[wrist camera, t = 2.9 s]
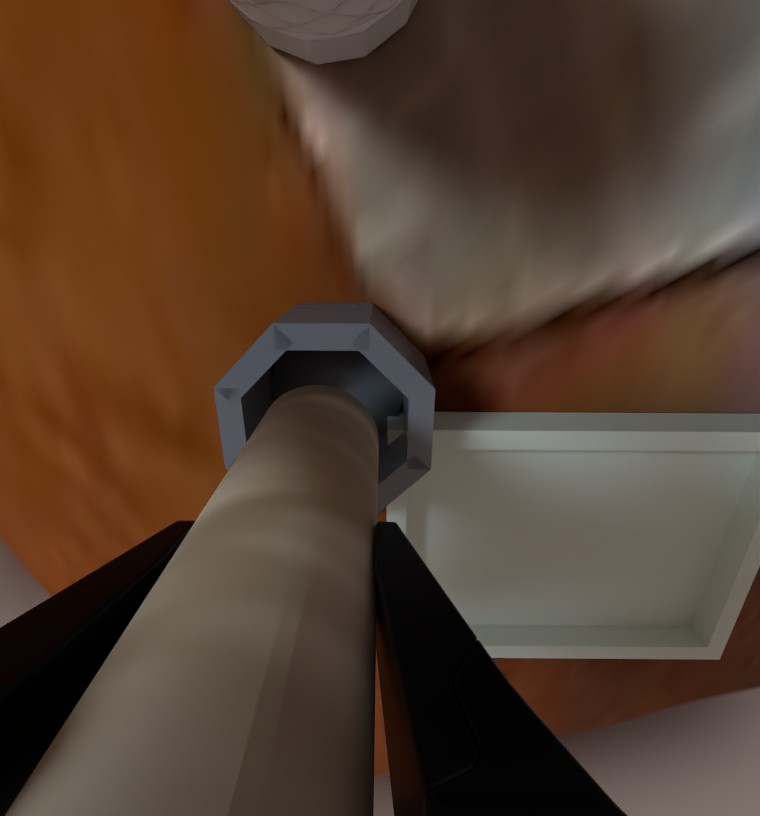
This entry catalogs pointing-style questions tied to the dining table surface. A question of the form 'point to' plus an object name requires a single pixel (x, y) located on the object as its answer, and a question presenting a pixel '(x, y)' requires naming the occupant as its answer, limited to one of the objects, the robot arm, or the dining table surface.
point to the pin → (245, 645)
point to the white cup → (325, 25)
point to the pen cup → (337, 382)
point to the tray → (590, 529)
